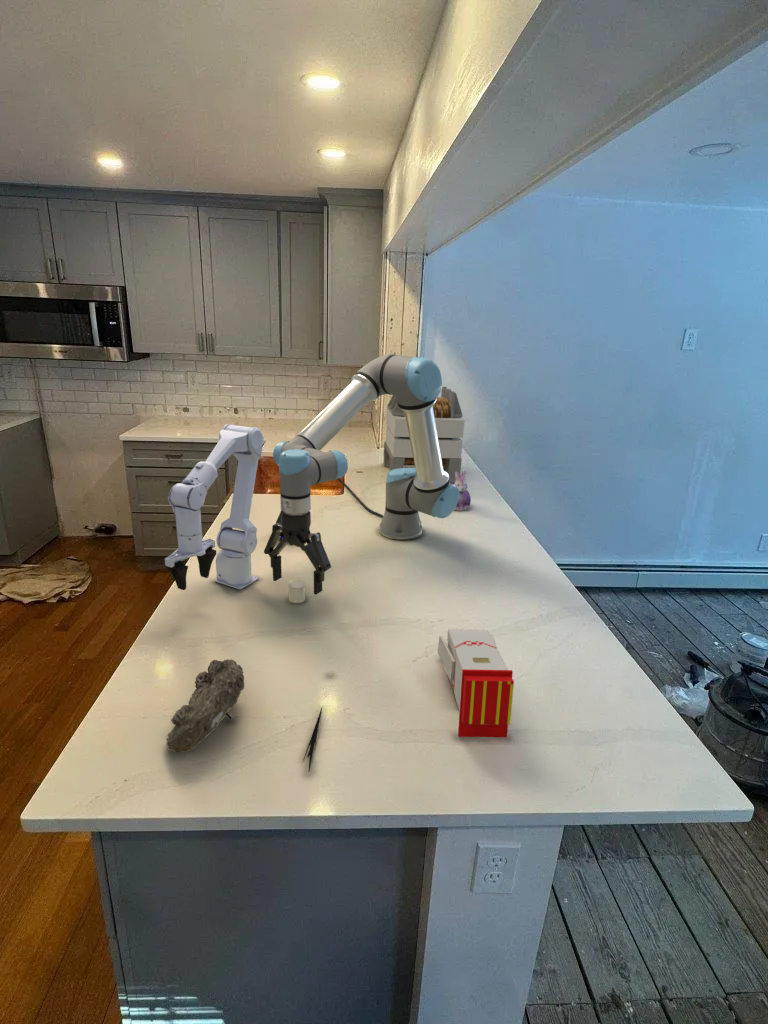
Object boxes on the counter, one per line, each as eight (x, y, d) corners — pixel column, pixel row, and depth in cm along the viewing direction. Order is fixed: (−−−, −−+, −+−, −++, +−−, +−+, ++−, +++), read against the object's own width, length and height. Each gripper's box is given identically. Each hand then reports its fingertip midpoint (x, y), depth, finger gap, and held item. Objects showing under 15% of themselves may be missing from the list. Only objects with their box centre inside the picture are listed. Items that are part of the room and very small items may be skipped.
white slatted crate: (382, 463, 289) (386, 382, 275) (445, 464, 293) (451, 384, 279) (390, 482, 257) (394, 392, 243) (460, 483, 261) (468, 394, 247)
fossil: (192, 660, 117) (244, 628, 112) (224, 691, 120) (276, 661, 115) (142, 746, 98) (202, 712, 93) (182, 779, 101) (242, 748, 96)
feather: (331, 679, 122) (336, 673, 122) (307, 777, 96) (313, 769, 95) (324, 675, 122) (329, 669, 121) (298, 772, 95) (304, 764, 95)
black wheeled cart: (294, 548, 187) (299, 527, 200) (293, 528, 183) (299, 508, 197) (273, 548, 187) (280, 526, 200) (272, 527, 183) (279, 507, 197)
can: (289, 603, 150) (288, 588, 149) (288, 595, 154) (288, 580, 153) (305, 602, 151) (305, 587, 149) (304, 595, 155) (304, 580, 153)
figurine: (457, 512, 223) (460, 476, 218) (443, 504, 231) (446, 469, 226) (477, 509, 227) (480, 473, 222) (462, 502, 236) (465, 467, 230)
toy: (488, 613, 130) (523, 677, 101) (484, 667, 133) (517, 744, 104) (435, 612, 130) (455, 676, 101) (432, 666, 133) (451, 743, 103)
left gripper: (178, 545, 129) (183, 598, 134) (223, 526, 141) (226, 575, 146) (156, 539, 132) (161, 591, 137) (202, 520, 144) (205, 569, 149)
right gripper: (248, 505, 146) (252, 579, 154) (327, 525, 135) (327, 604, 143) (267, 497, 153) (270, 568, 160) (345, 516, 141) (344, 592, 149)
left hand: (193, 582), depth 141 cm, fingers open, 7 cm apart
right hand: (297, 585), depth 151 cm, fingers open, 13 cm apart
